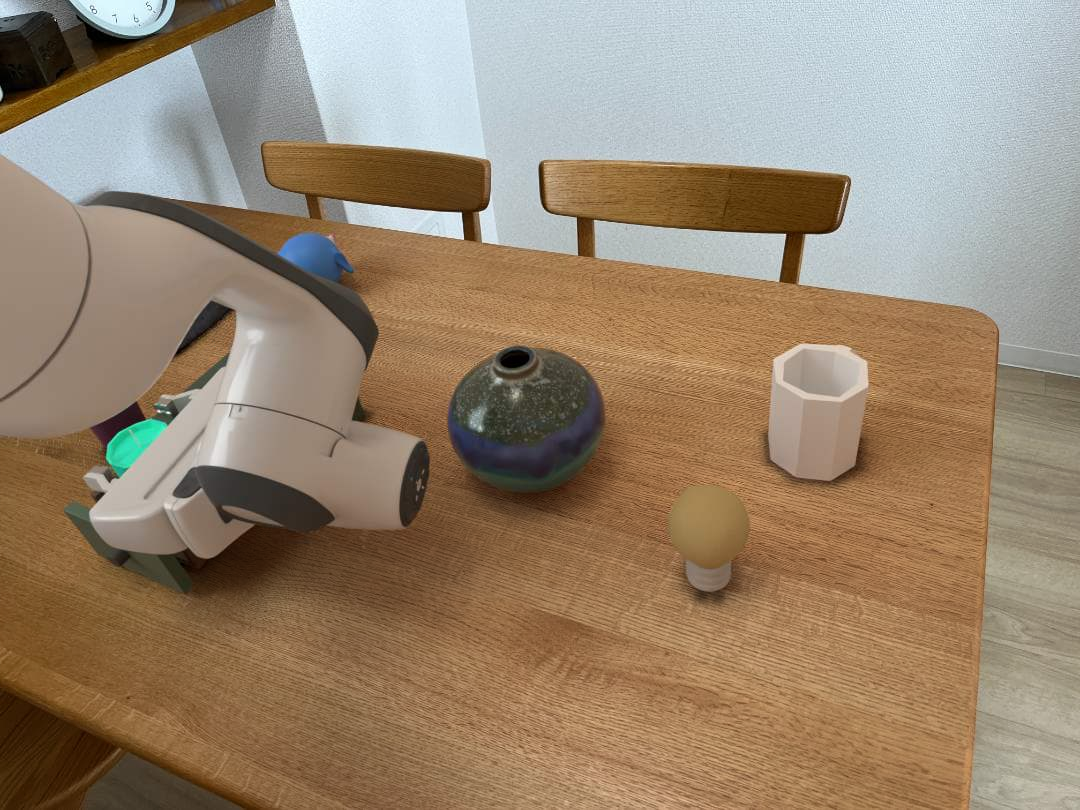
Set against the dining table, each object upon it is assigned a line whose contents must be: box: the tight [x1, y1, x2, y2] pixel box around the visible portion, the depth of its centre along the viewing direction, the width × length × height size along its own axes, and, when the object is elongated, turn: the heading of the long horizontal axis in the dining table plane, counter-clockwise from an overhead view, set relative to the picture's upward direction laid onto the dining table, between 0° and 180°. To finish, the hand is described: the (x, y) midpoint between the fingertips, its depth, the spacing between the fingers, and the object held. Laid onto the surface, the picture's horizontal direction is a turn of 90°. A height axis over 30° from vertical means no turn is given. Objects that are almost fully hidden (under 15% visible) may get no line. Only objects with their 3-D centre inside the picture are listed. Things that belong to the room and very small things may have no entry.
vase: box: [446, 344, 607, 494], centre depth 78 cm, size 15×15×13 cm
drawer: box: [62, 471, 210, 595], centre depth 79 cm, size 16×12×7 cm
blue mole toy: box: [276, 232, 355, 284], centre depth 112 cm, size 12×12×8 cm
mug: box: [767, 343, 869, 482], centre depth 76 cm, size 12×9×10 cm
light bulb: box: [667, 484, 751, 593], centre depth 66 cm, size 6×6×10 cm
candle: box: [105, 418, 168, 478], centre depth 76 cm, size 6×6×12 cm
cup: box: [89, 400, 147, 450], centre depth 89 cm, size 7×7×15 cm
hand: (127, 439), depth 73 cm, fingers open, 8 cm apart
